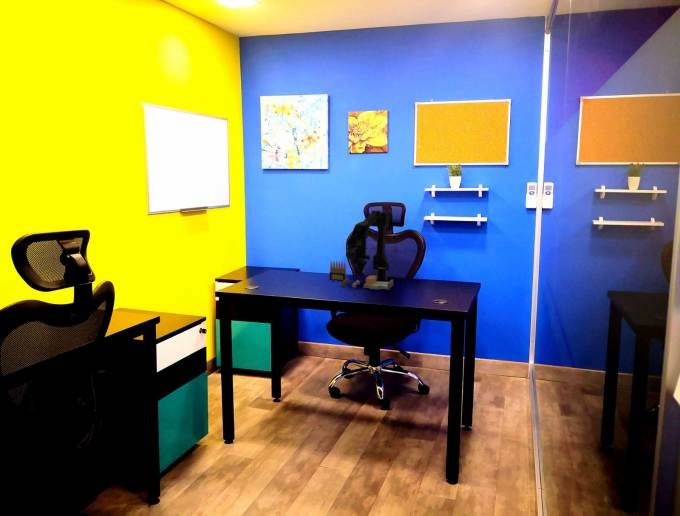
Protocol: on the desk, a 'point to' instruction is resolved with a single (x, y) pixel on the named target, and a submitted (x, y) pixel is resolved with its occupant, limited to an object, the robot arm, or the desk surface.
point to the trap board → (375, 286)
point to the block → (371, 280)
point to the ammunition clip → (337, 271)
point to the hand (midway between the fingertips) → (360, 273)
